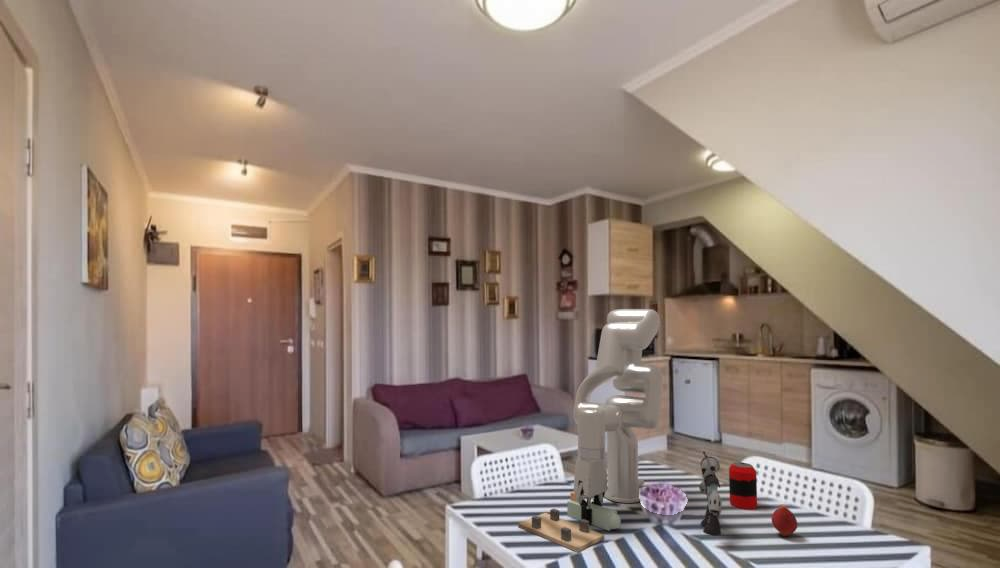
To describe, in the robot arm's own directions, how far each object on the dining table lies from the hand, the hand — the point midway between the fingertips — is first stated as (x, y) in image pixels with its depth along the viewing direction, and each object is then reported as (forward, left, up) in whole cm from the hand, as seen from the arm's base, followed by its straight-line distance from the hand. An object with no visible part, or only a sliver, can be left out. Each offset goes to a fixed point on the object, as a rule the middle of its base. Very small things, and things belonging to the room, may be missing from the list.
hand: (591, 519), depth 139 cm
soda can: (-45, +24, -1) cm, 51 cm away
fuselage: (0, 0, 0) cm, 0 cm away
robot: (-20, +25, -1) cm, 32 cm away
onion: (-30, +40, -1) cm, 50 cm away
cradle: (+12, -1, 0) cm, 13 cm away
